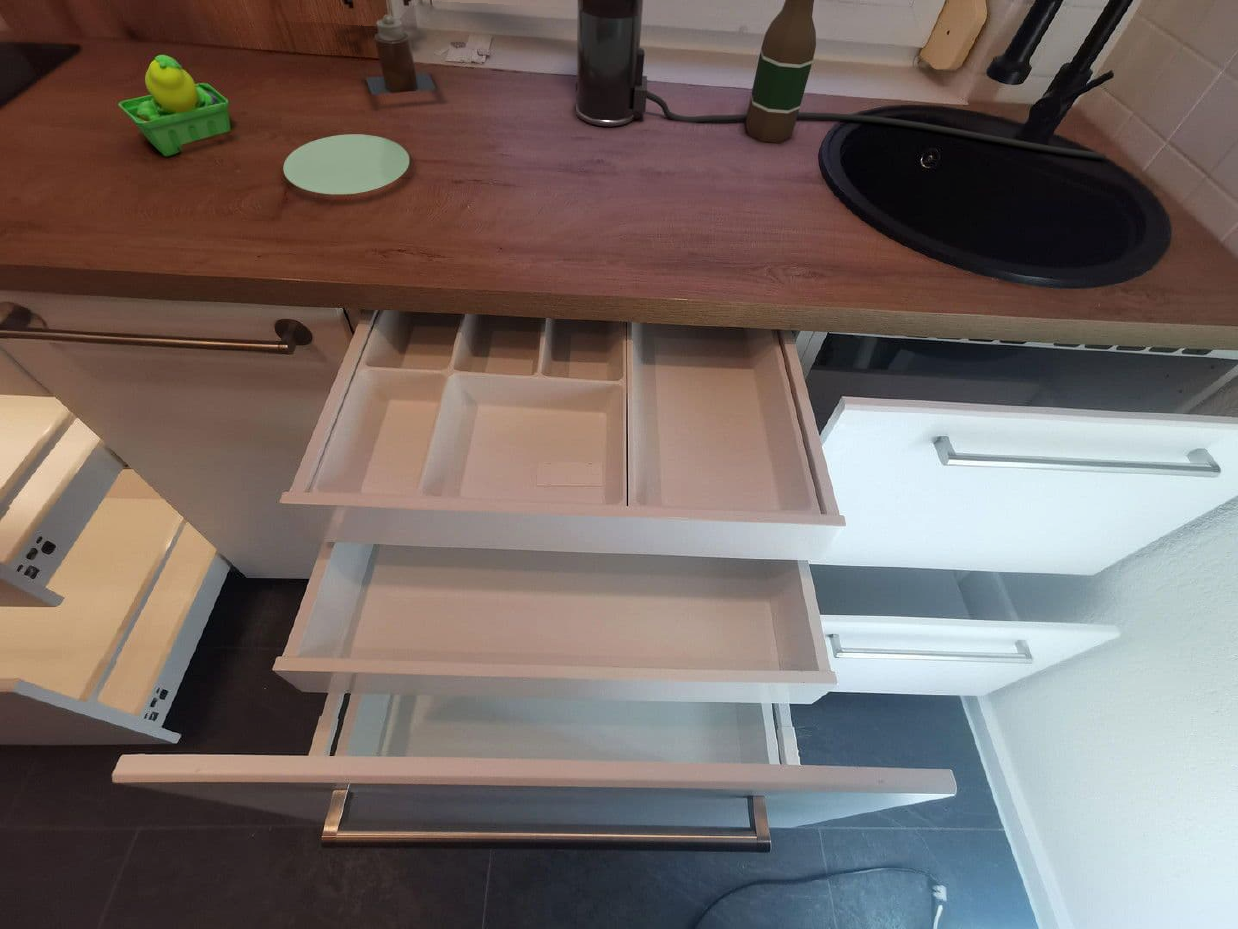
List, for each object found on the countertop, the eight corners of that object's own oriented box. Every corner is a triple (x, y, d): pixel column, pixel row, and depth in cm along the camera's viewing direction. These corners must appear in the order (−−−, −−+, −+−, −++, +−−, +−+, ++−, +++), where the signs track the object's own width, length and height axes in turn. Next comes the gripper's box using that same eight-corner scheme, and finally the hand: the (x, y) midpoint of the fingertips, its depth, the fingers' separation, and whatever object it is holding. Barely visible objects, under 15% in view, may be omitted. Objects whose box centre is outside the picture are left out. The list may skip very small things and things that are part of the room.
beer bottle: (797, 128, 99) (851, -63, 80) (784, 148, 95) (838, -49, 76) (751, 116, 101) (793, -74, 82) (736, 135, 96) (777, -61, 77)
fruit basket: (221, 119, 90) (182, 28, 81) (249, 142, 86) (212, 50, 77) (137, 141, 84) (86, 47, 75) (163, 168, 81) (113, 72, 72)
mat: (428, 76, 103) (428, 72, 102) (441, 101, 97) (440, 97, 97) (366, 81, 100) (365, 77, 100) (375, 108, 95) (374, 104, 94)
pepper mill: (414, 79, 100) (401, 7, 93) (420, 92, 98) (407, 19, 90) (383, 81, 99) (367, 9, 91) (388, 95, 96) (372, 21, 88)
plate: (400, 136, 90) (398, 128, 89) (421, 193, 81) (419, 184, 80) (282, 150, 85) (278, 141, 84) (291, 210, 77) (287, 201, 76)
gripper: (295, -130, 90) (328, -9, 93) (395, -130, 94) (424, -13, 96) (304, -92, 97) (335, 20, 100) (397, -93, 101) (424, 15, 104)
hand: (379, 4), depth 98 cm, fingers open, 8 cm apart
